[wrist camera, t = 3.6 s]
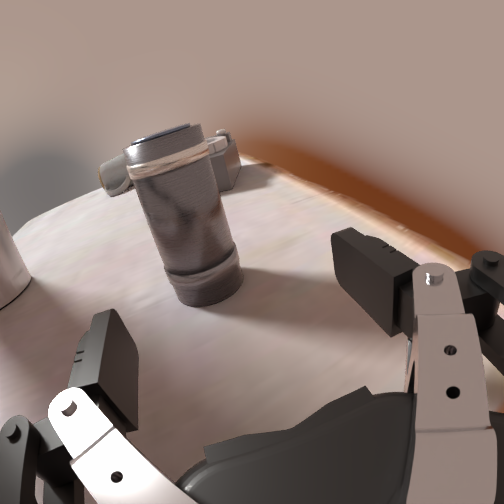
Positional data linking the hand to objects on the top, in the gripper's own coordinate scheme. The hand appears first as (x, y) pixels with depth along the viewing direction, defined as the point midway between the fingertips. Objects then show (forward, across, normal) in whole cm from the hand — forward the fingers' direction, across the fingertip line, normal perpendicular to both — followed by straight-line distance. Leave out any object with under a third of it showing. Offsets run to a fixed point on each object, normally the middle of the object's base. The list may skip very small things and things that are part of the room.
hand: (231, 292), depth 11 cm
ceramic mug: (+63, -15, -5) cm, 65 cm away
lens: (+11, -1, -6) cm, 12 cm away
